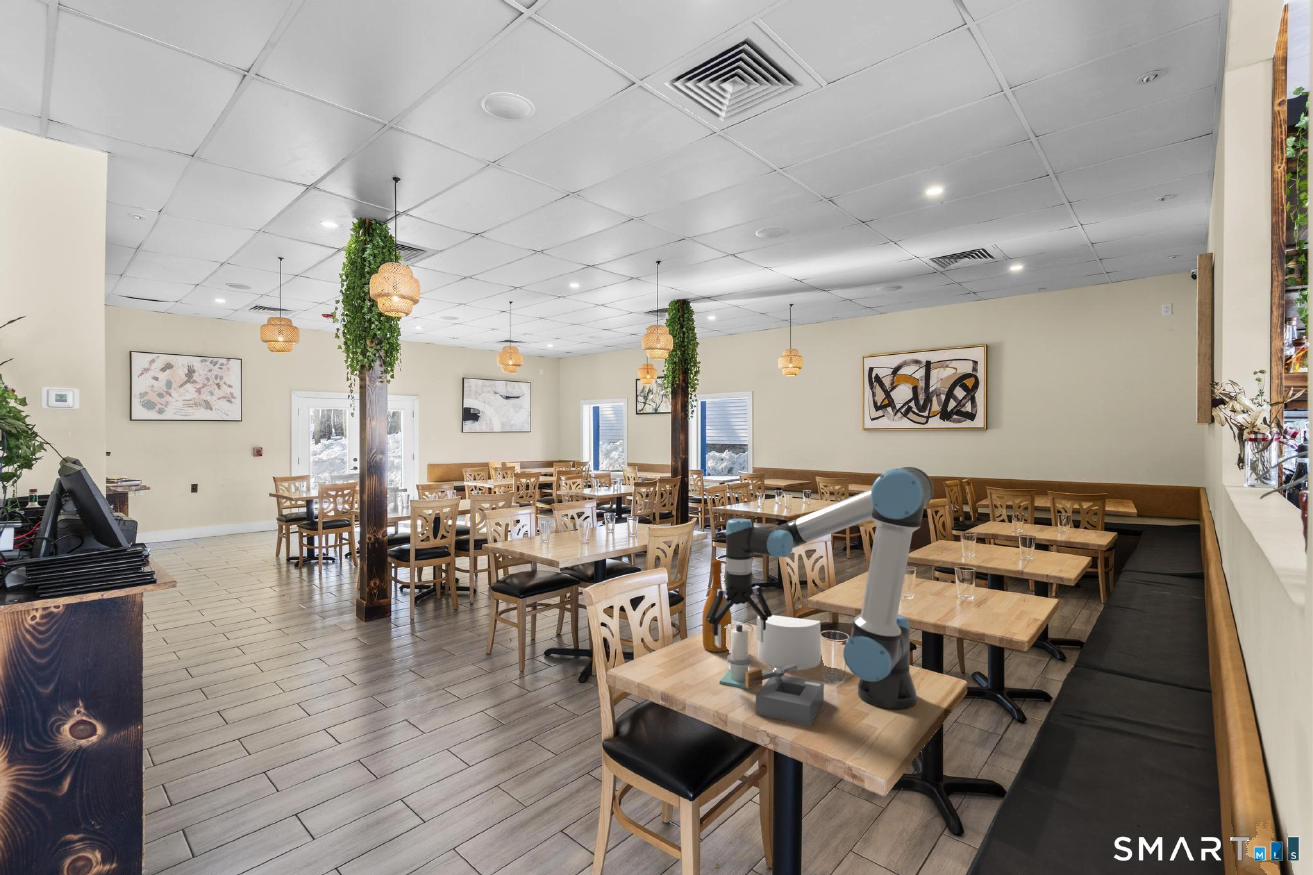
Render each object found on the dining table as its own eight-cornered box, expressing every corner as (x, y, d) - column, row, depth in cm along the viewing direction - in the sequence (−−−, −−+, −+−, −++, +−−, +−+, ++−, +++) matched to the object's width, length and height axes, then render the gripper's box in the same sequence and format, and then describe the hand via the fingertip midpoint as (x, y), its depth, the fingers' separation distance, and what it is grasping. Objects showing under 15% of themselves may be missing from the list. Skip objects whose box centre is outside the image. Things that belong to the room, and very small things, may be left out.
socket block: (823, 700, 166) (823, 677, 166) (809, 725, 152) (809, 700, 152) (773, 690, 173) (773, 668, 172) (755, 713, 158) (755, 689, 158)
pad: (758, 677, 181) (758, 675, 181) (749, 689, 173) (749, 686, 173) (730, 672, 185) (730, 669, 185) (719, 683, 177) (719, 680, 177)
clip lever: (750, 689, 160) (750, 674, 160) (743, 685, 163) (743, 670, 163) (799, 674, 170) (799, 659, 170) (791, 670, 173) (791, 656, 172)
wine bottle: (726, 642, 212) (726, 556, 212) (735, 652, 202) (734, 562, 202) (699, 644, 210) (699, 557, 210) (706, 654, 201) (706, 563, 200)
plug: (754, 675, 181) (754, 624, 181) (746, 684, 175) (746, 631, 174) (732, 671, 184) (732, 620, 184) (724, 680, 178) (723, 627, 178)
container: (825, 652, 202) (825, 612, 202) (814, 674, 184) (814, 630, 184) (766, 643, 210) (766, 605, 210) (750, 664, 192) (750, 622, 192)
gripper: (771, 565, 186) (771, 634, 187) (694, 572, 179) (695, 643, 179) (783, 571, 179) (783, 643, 179) (704, 577, 172) (704, 652, 172)
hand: (739, 643), depth 179 cm, fingers open, 13 cm apart
